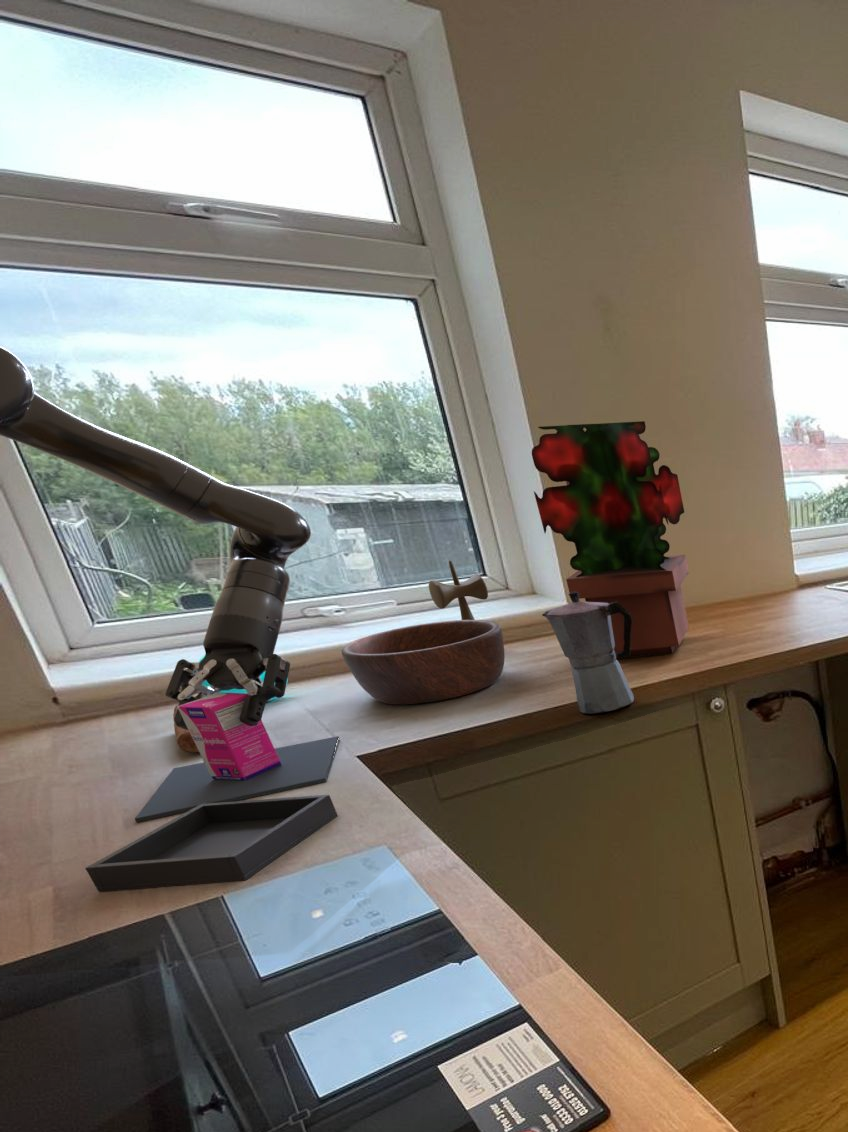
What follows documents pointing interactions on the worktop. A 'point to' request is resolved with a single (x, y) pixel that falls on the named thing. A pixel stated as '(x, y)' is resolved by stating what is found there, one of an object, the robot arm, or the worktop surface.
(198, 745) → the supplement box
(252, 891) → the worktop surface
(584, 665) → the moka pot
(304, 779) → the mat
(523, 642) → the worktop surface
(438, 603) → the kendama
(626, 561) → the potted plant
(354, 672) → the wooden bowl
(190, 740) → the bread
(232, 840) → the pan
